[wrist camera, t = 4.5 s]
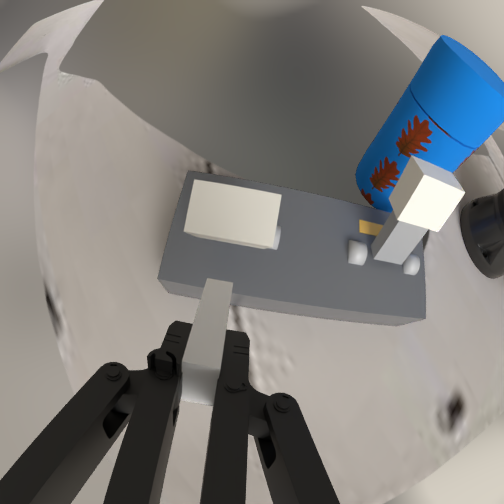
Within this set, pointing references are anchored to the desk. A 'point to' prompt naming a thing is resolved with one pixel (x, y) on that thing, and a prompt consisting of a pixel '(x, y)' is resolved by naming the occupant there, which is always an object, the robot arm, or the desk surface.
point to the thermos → (434, 119)
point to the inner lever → (416, 209)
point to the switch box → (300, 261)
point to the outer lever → (232, 214)
